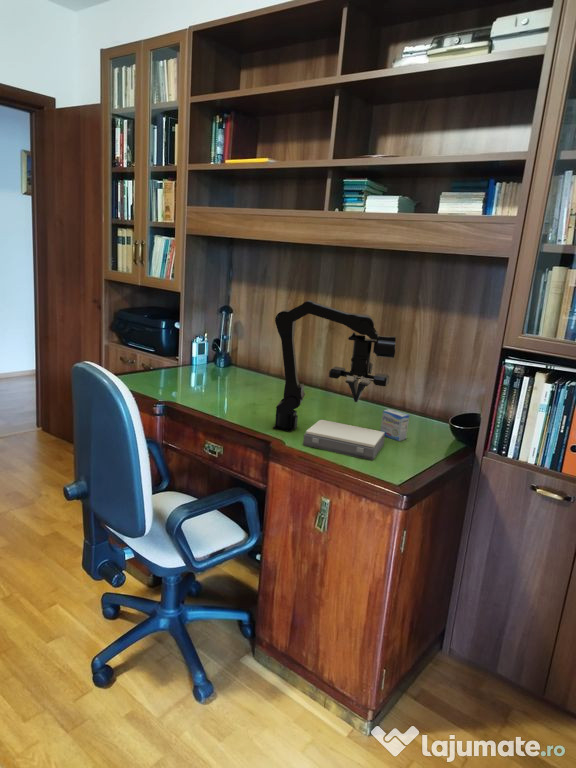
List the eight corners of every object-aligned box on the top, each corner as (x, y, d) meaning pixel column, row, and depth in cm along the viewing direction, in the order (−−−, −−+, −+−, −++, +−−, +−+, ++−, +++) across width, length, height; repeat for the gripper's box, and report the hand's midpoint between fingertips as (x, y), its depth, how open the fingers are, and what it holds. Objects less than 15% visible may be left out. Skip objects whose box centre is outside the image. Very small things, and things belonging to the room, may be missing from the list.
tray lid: (305, 433, 163) (306, 430, 163) (320, 421, 175) (320, 419, 175) (374, 447, 155) (374, 445, 155) (384, 434, 168) (384, 432, 168)
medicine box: (379, 434, 179) (382, 410, 176) (386, 432, 182) (390, 408, 180) (398, 441, 173) (402, 416, 171) (406, 439, 176) (409, 414, 174)
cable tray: (302, 446, 162) (303, 435, 161) (318, 431, 176) (319, 421, 176) (372, 461, 155) (373, 450, 154) (383, 445, 169) (384, 434, 168)
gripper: (395, 355, 172) (389, 401, 175) (340, 347, 178) (336, 391, 182) (388, 360, 162) (382, 409, 165) (330, 352, 168) (326, 399, 172)
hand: (356, 401), depth 171 cm, fingers closed
